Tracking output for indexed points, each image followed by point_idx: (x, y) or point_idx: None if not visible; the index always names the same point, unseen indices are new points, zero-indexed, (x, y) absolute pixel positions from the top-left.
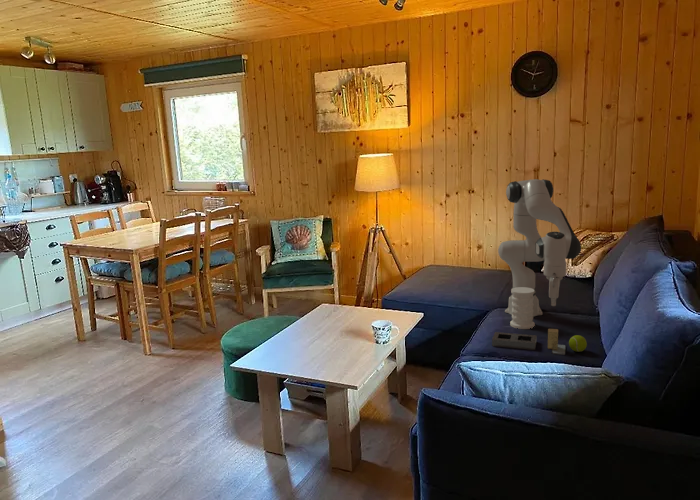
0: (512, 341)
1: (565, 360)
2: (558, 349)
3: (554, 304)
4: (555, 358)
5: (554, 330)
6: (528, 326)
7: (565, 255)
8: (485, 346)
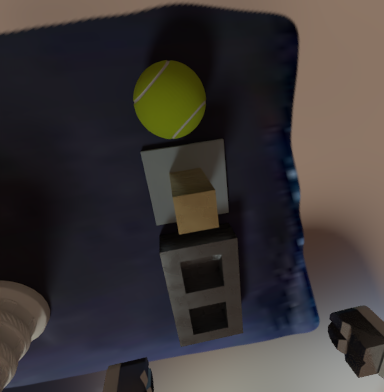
0: (240, 292)
1: (267, 129)
2: (193, 166)
3: (374, 323)
4: (259, 160)
5: (194, 208)
6: (27, 295)
7: None
8: None
